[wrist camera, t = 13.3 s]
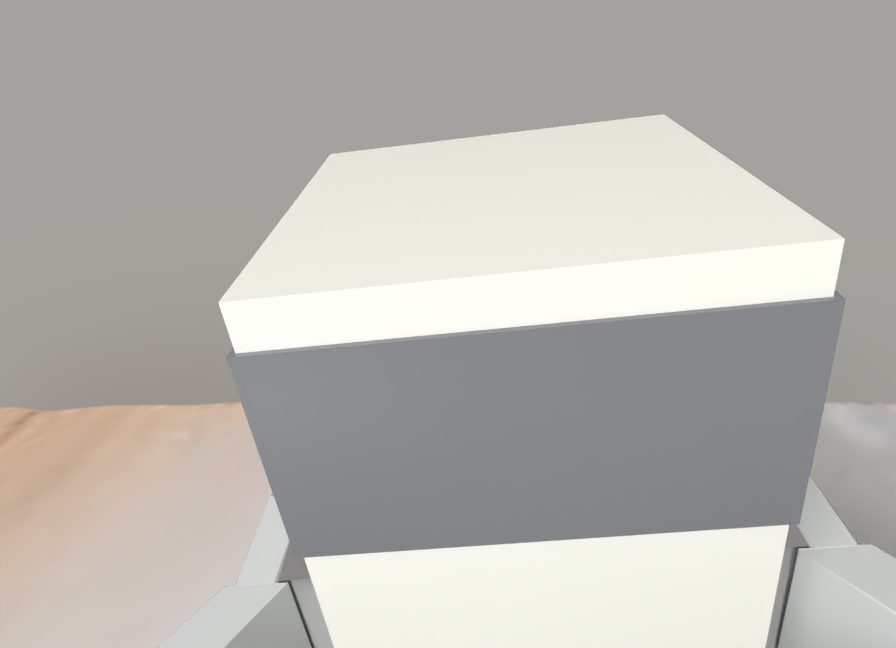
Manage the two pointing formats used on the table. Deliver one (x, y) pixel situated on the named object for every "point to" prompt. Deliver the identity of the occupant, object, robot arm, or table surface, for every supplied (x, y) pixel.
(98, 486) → the table surface
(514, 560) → the plastic plug
